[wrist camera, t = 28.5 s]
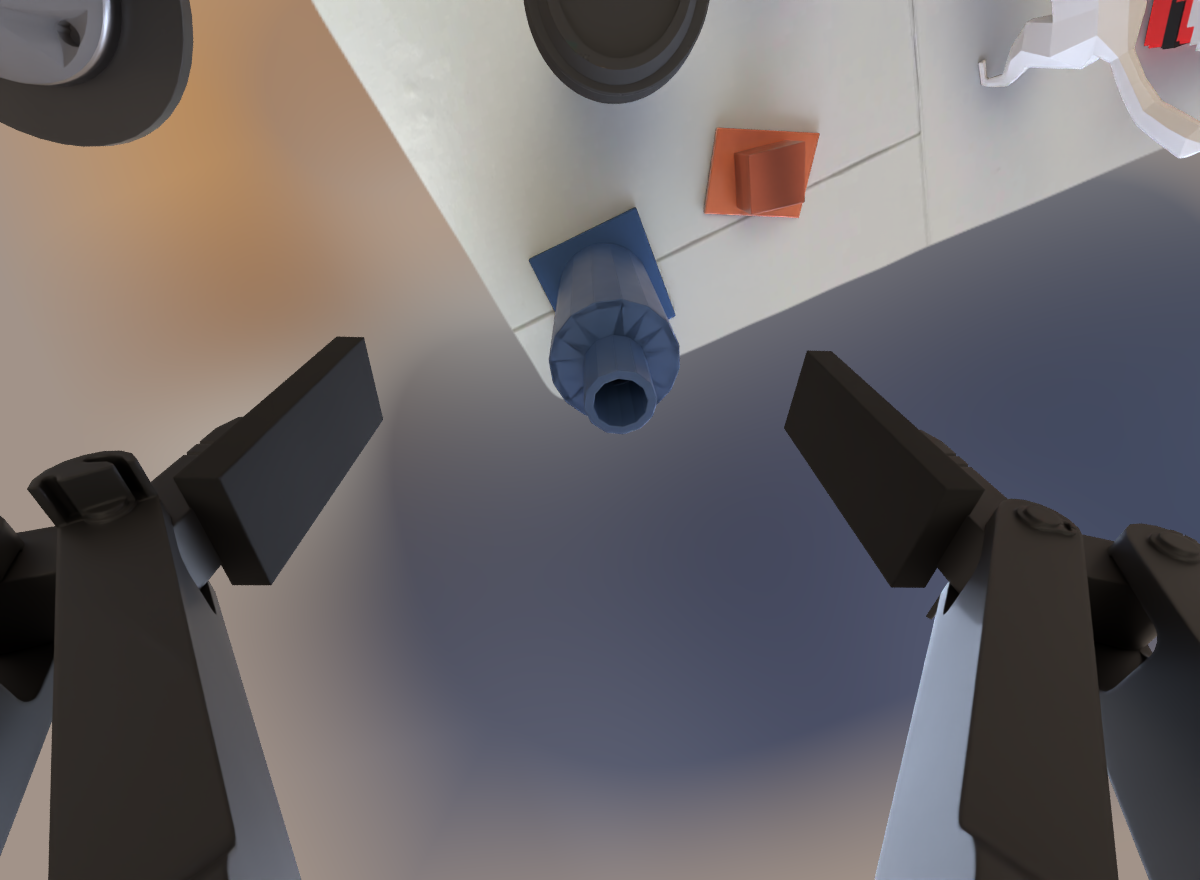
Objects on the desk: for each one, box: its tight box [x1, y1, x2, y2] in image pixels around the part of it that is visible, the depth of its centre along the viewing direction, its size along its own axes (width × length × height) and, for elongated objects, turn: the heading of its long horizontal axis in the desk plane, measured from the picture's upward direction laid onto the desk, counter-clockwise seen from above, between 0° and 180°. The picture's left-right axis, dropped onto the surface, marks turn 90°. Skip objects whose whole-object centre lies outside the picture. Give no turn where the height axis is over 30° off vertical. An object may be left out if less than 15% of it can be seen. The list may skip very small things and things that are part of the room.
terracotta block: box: [734, 140, 805, 215], centre depth 37 cm, size 4×4×4 cm
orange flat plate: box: [704, 128, 819, 218], centre depth 39 cm, size 8×6×1 cm
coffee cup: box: [524, 0, 709, 104], centre depth 27 cm, size 9×9×15 cm
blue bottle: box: [549, 243, 680, 434], centre depth 34 cm, size 8×8×21 cm
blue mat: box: [529, 207, 675, 319], centre depth 43 cm, size 10×10×1 cm
